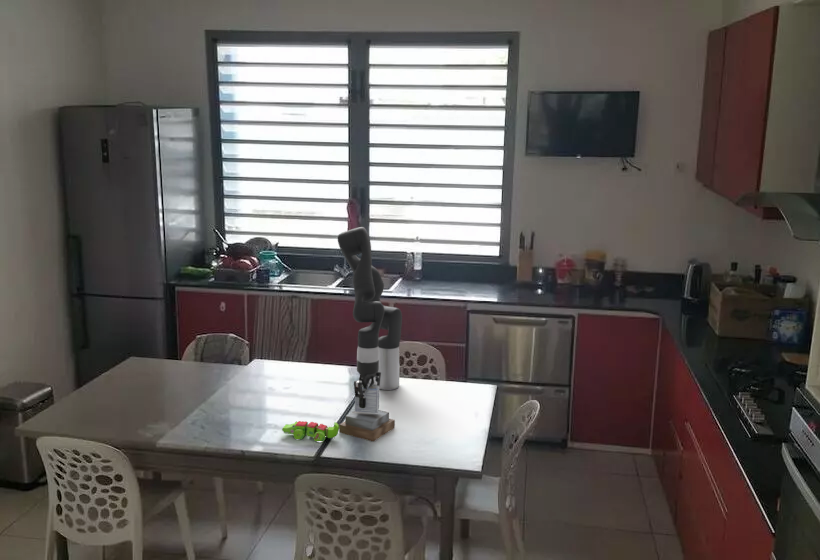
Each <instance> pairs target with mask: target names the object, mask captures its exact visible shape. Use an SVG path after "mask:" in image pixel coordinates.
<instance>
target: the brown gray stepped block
mask: <svg viewBox="0 0 820 560" xmlns="http://www.w3.org/2000/svg"><path fill="white" fill-rule="evenodd" d="M395 422H396V420H395V419H393V418H390V412H389V411H384V410H381V409H379V410H378V412H377V413H372V412H355V410H353V411H351V412H350V413H348V414H346V415H345V421H343V422H341V423H339V424H338V425H339V431H338V434H339V433H340V434H343V435H346V436H350V437H353V438H354V437H355V438H357V439H361V440H366V441H370V442H376V441H377V440H379V439H380V438H383V436H385V435H387V434H388V433H389V432H391V431H392V430H394V429H395V428H396V427H395V425H396V424H395Z"/></svg>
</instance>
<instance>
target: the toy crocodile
mask: <svg viewBox="0 0 820 560" xmlns="http://www.w3.org/2000/svg"><path fill="white" fill-rule="evenodd" d="M333 425H334V426H328V425H326V424H324V423H320V424H319V423H318V422H315V421H310V422H308V421H301V420H298V421H295V422H294V423H290V424H288V423H286V424H285V425H284V426H283V427H282V428H281V431H282V432H283V434H285V435H286V434H287V435H292V436H293V438H294V439H295V440H296V439H301V440H303V439H304V438H305V436H306V437H311V438H313V440H314V442H315V441H323V442H324V441H325V440H326V437H325V436H327V438H328V439H333V438H335V437H337V436H338V434H339V425H340V424H339V423H338V422H336V421H334V423H333Z"/></svg>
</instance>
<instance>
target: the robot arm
mask: <svg viewBox="0 0 820 560" xmlns="http://www.w3.org/2000/svg"><path fill="white" fill-rule="evenodd" d="M369 235H370V234H369V232H368V231H367V229H366V228H365V227H364V226H360V227H355V228H352V229H348V230H346V231H343V232H341V233H339V234H338V235H337V243H338V246H339V249H340V251H341V253H342V255H343V257H344V258H345V260H346V262H347V264H348V265H349V267H350V269H351V271H352V273H353V276H352V284H353V289H354V304H353V310H352V317H353V319H354V320H355V322H357V323H371V324H370V325H368V326H366V327H362V328H360V329H359V330H358V331H357V332H358V333H357V349H356V372H357V373H358V374H359V377H358V380H354V382H353V389H354V398H355V397H359V407H360V408H365V407H366V398H365V397H366V393H367V392H368V390H369V387H370V386H372V385H373V386H376V385H377V386H379V390H382V391H390V390H391V391H393V390H397V389H398V388H399V387H400V386H399V385H400V368H401V367H400V344H401V343H400V342H401V338H402V324H403V313H402V311H401V309H400V308H398V307H395V306H394V307H393V306H387V305H384V304H383V303H382V301H381V297H382V295H383V292H384V288H385V283H384V281H383V278H382V275H381V274H380V272H379V270H378V269H377V268H376V267H374V266H373V263H372V261H373V260H372V244H371V243H372V242H371V238H370V236H369ZM360 254H361V257H358V256H357V255H360ZM380 330H386V331H387V335H382V336H380V335H379V334H380ZM362 387H364V388H365V389H363V388H362ZM362 391H364V393H363V392H362ZM358 392H359V393H358Z"/></svg>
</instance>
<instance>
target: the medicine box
mask: <svg viewBox="0 0 820 560" xmlns="http://www.w3.org/2000/svg"><path fill="white" fill-rule="evenodd" d="M362 388H363V389H365V388H364V387H362ZM362 392H363V393H364V391H362ZM358 393H359V392H358ZM365 398H366V407H365V408H360V407H359V397H355V396H354V411H355V412H372V413H377V412H378V410H380V389H379V386H377V385H376V386H373V385H372V386H370V387H369V390H368V392H367V393H366V397H365Z"/></svg>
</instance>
